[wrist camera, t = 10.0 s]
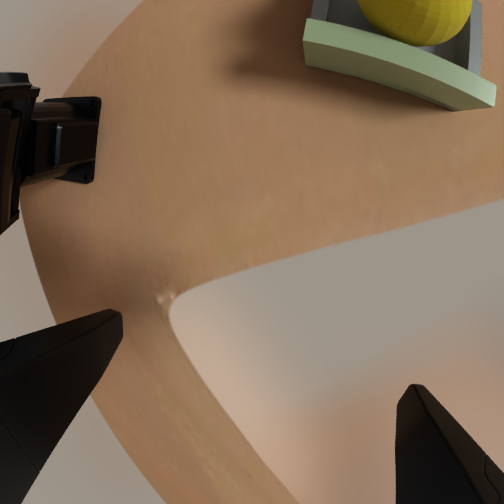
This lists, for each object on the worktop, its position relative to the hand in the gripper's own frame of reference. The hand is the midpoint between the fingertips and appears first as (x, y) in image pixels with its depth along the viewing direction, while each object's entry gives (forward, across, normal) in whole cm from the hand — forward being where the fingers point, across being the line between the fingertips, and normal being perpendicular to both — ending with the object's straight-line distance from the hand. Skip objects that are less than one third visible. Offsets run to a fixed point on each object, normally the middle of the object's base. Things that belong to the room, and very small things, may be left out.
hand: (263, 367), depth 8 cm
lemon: (+11, -3, -15) cm, 19 cm away
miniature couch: (+12, -3, -14) cm, 19 cm away
